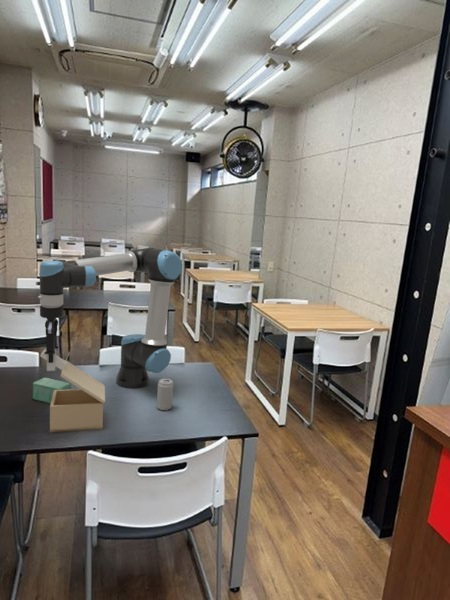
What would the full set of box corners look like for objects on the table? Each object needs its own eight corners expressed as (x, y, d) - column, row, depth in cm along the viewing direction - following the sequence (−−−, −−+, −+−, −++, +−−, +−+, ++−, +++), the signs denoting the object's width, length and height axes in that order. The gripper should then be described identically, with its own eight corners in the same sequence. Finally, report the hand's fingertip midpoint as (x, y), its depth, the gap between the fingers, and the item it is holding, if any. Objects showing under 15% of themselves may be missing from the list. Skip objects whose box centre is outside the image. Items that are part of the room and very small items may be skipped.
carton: (102, 411, 162) (103, 388, 160) (102, 429, 148) (103, 404, 146) (53, 413, 156) (54, 389, 154) (49, 432, 143) (49, 406, 141)
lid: (103, 387, 160) (107, 382, 160) (103, 403, 146) (107, 398, 147) (43, 348, 150) (47, 343, 150) (37, 361, 137) (42, 356, 137)
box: (60, 406, 163) (60, 388, 161) (32, 399, 166) (31, 382, 165) (71, 399, 170) (71, 382, 168) (44, 393, 173) (44, 376, 172)
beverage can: (174, 406, 171) (176, 380, 169) (167, 412, 165) (169, 385, 163) (161, 403, 173) (162, 376, 171) (153, 409, 167) (155, 382, 165)
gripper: (43, 300, 147) (43, 360, 152) (36, 310, 132) (37, 377, 137) (64, 300, 149) (64, 360, 154) (61, 311, 134) (60, 376, 139)
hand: (51, 368), depth 145 cm, fingers closed on lid, 3 cm apart
